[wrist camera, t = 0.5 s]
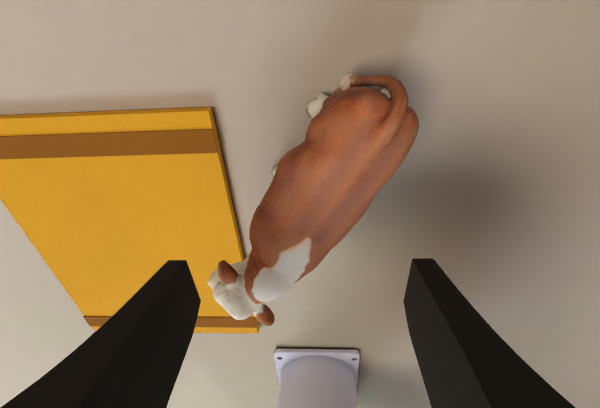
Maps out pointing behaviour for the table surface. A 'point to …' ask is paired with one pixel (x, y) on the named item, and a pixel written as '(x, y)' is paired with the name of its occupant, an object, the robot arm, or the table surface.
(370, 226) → the table surface
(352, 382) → the robot arm
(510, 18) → the table surface
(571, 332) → the table surface
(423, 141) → the table surface
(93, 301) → the towel
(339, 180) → the bull figurine
